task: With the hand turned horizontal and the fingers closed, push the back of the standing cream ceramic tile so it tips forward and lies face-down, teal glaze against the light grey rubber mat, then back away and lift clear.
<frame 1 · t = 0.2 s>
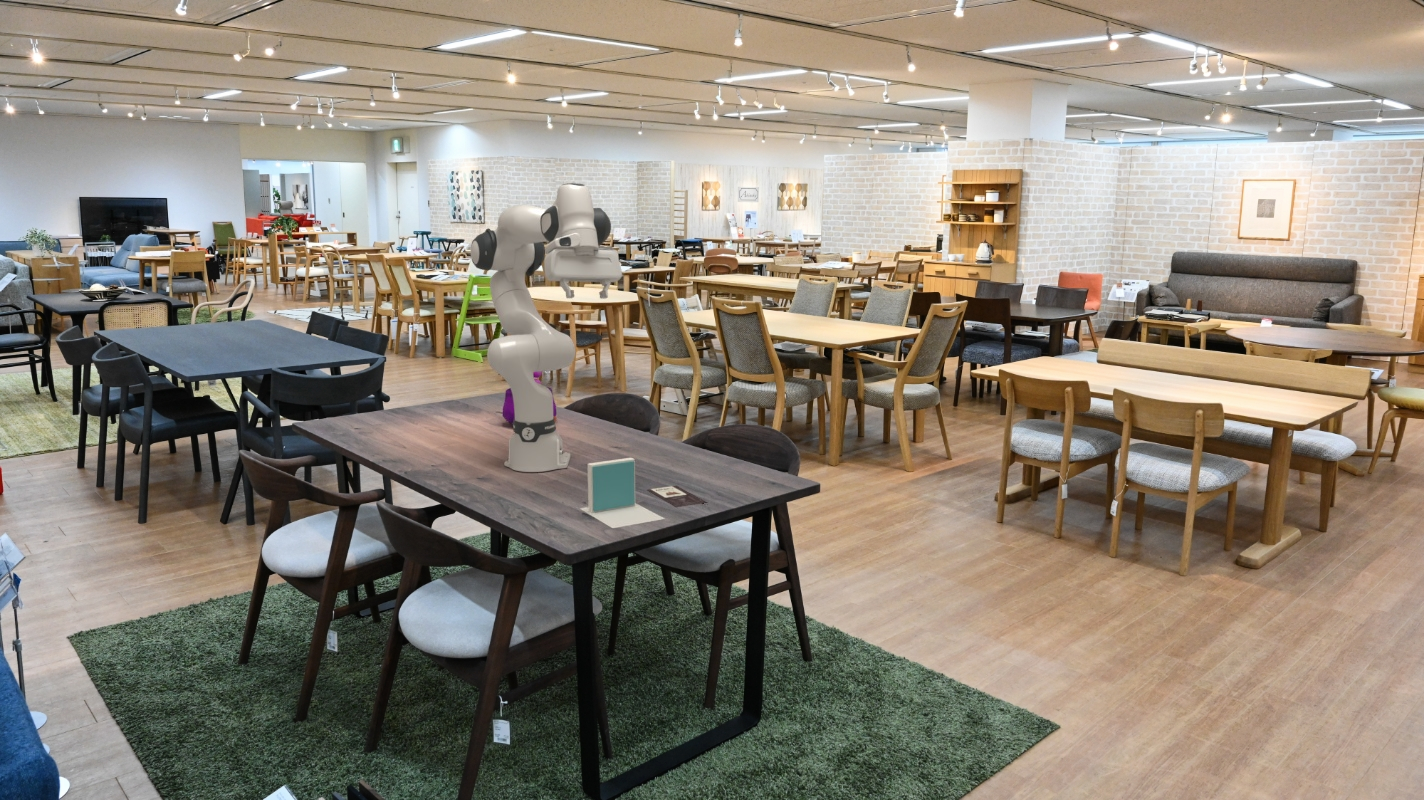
hand: (587, 298, 246), 52 cm above the table, tool tilted 20°, fingers open, 8 cm apart
mat: (621, 515, 240), on the table
tile: (612, 508, 244), resting on mat
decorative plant: (530, 425, 345), on the table
chocolate bar: (676, 500, 255), on the table
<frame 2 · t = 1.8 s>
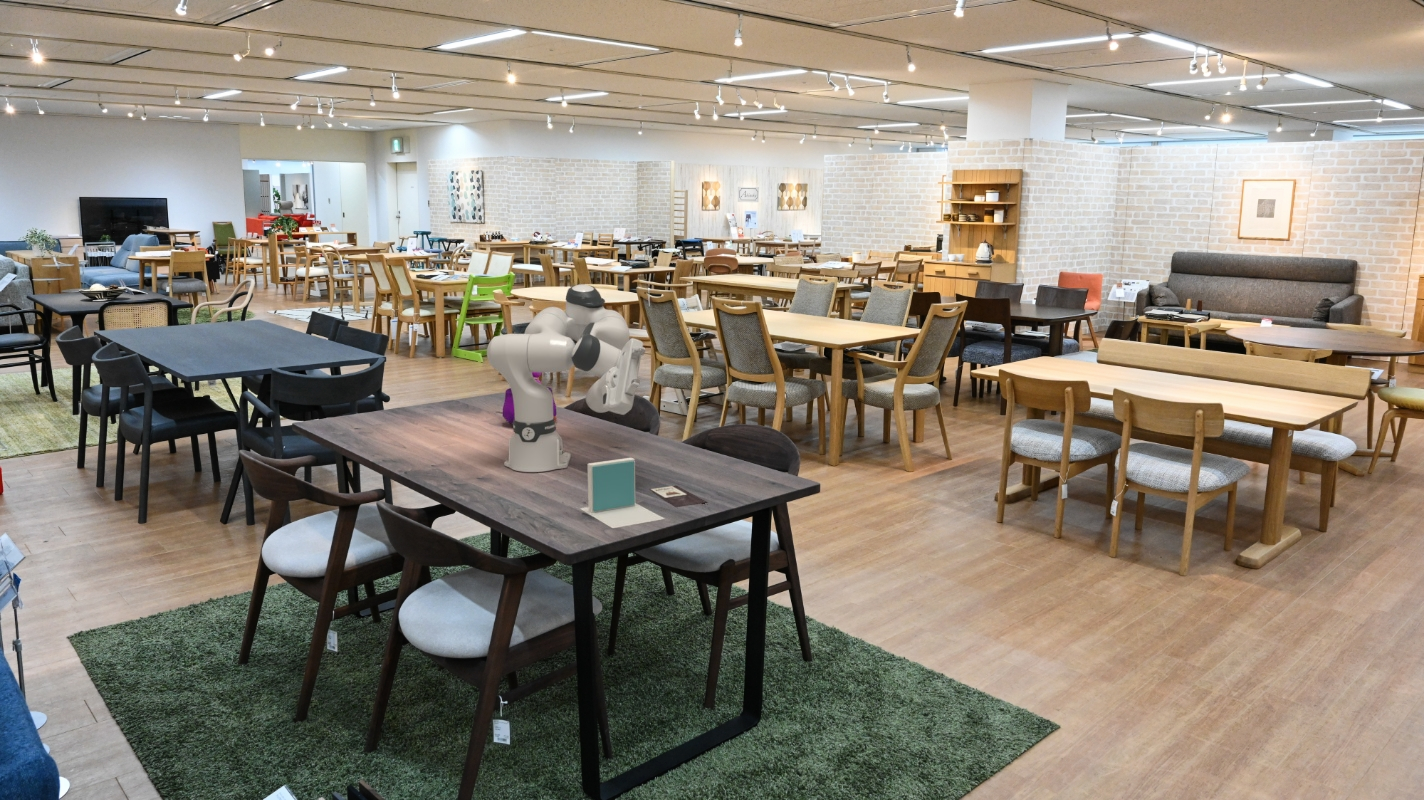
hand: (639, 365, 254), 34 cm above the table, tool pointing upward, fingers open, 8 cm apart
nothing on the table moved.
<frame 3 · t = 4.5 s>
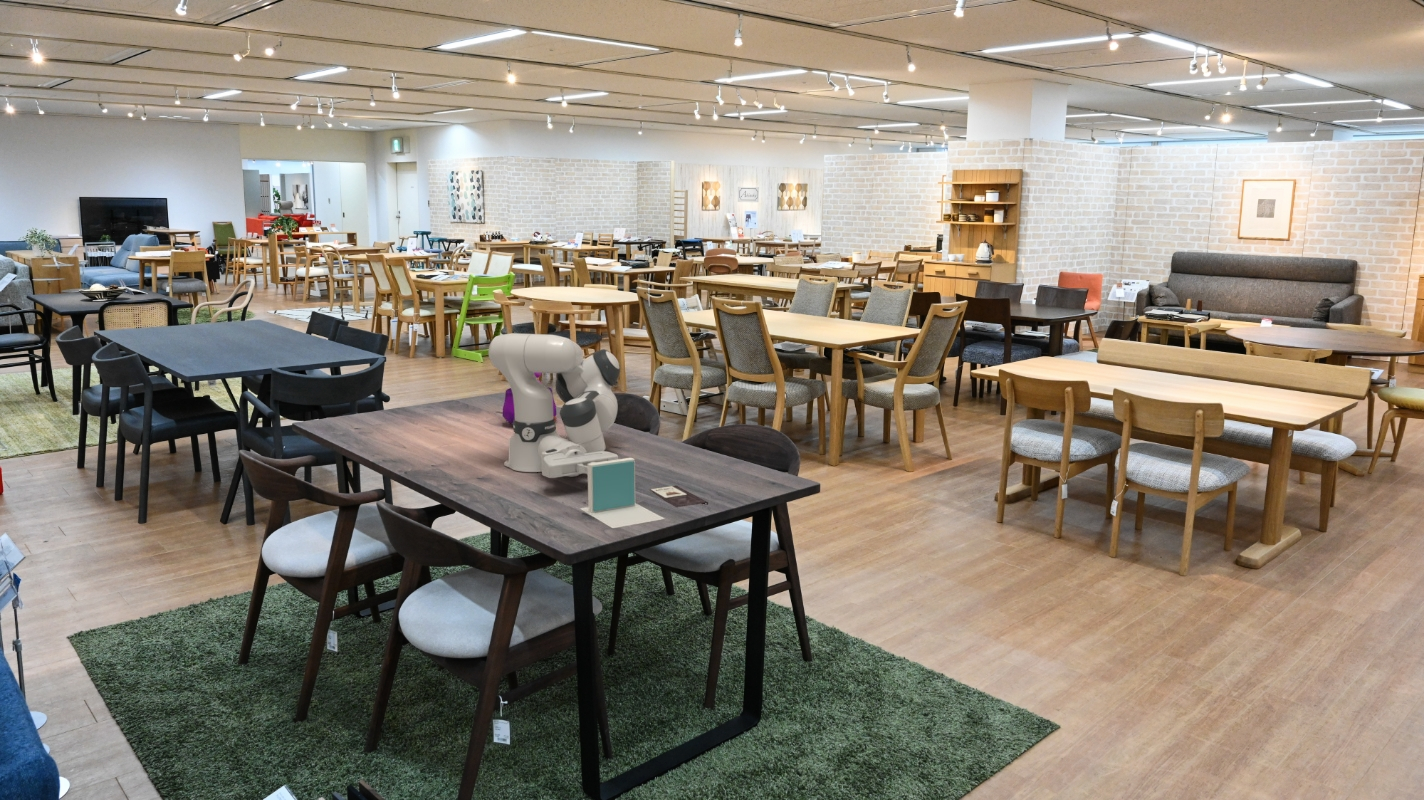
hand: (593, 470, 253), 7 cm above the table, tool horizontal, fingers closed
nothing on the table moved.
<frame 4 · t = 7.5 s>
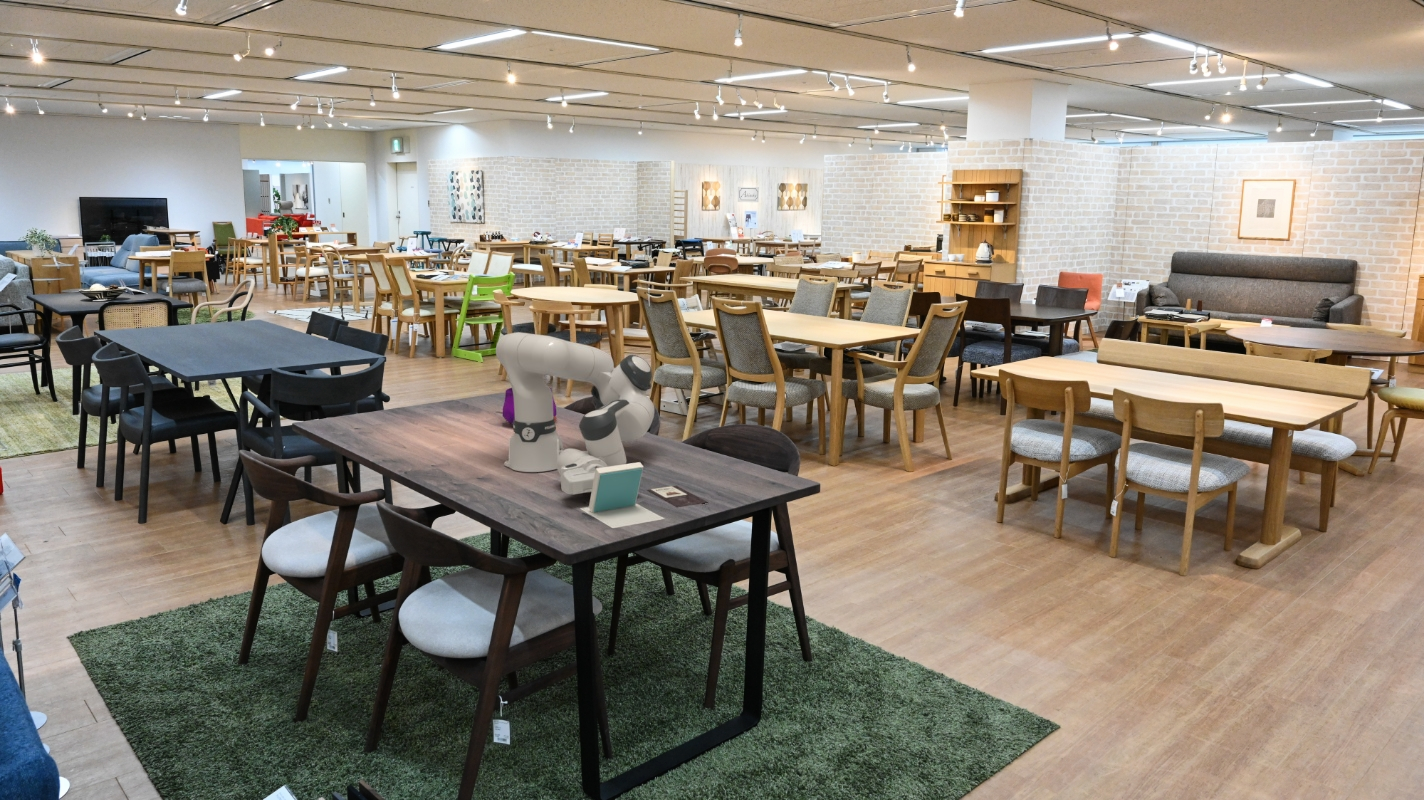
hand: (615, 486, 244), 6 cm above the table, tool horizontal, fingers closed
tile: (612, 506, 244), point 1 cm above the table, tilted 22°, touching mat
everything else where it was.
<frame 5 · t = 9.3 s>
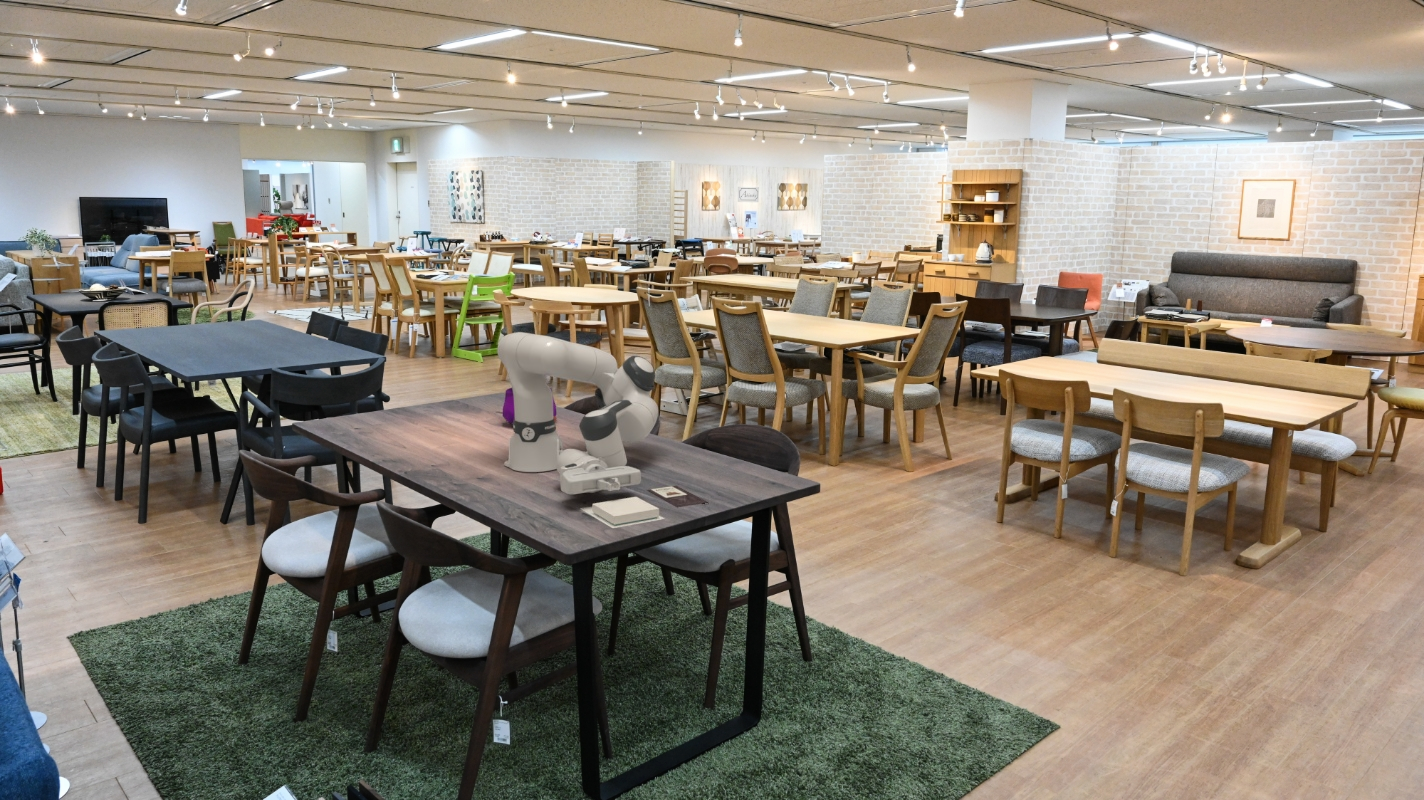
hand: (615, 487, 242), 6 cm above the table, tool horizontal, fingers closed
tile: (614, 504, 243), point 2 cm above the table, tilted 90°, touching mat
everything else where it was.
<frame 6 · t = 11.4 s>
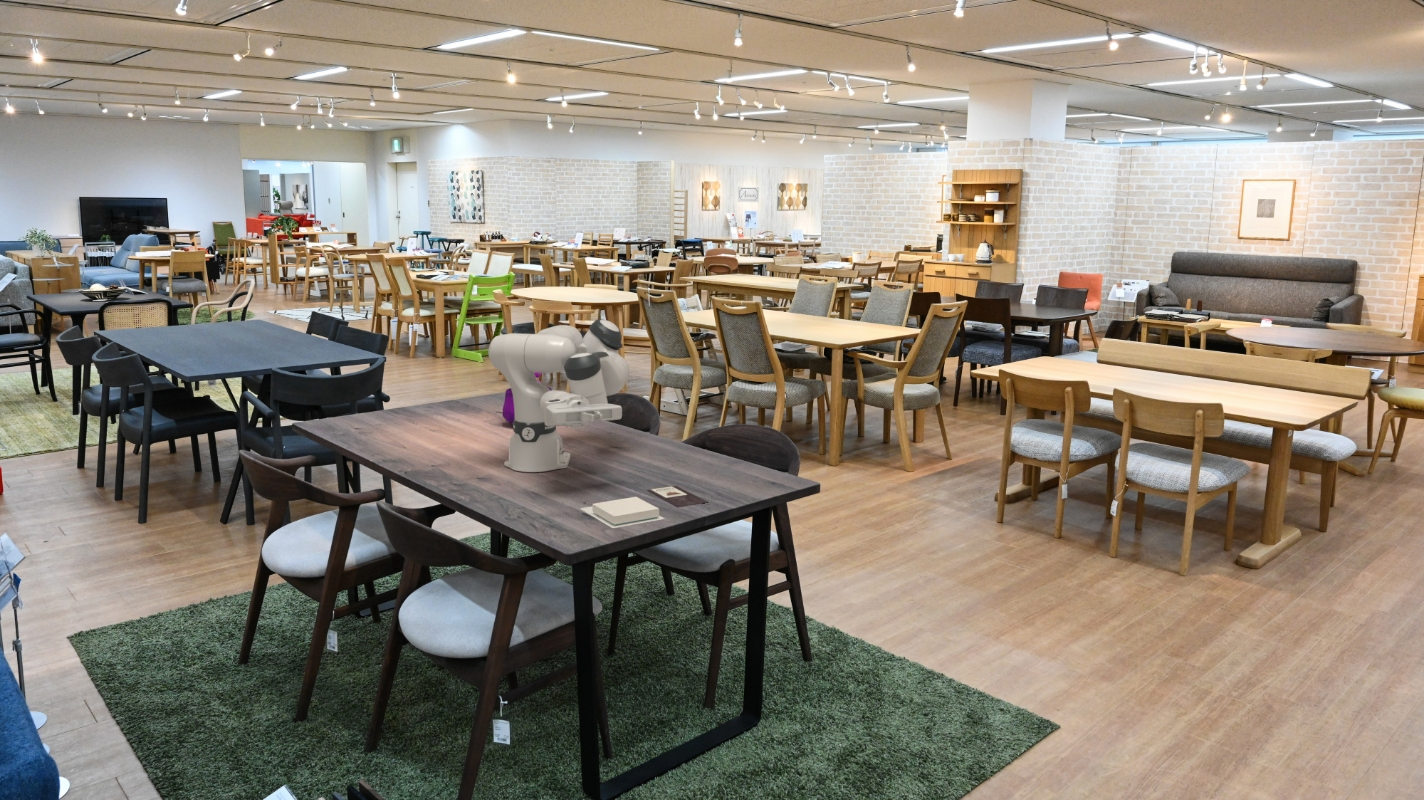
hand: (597, 418, 251), 21 cm above the table, tool horizontal, fingers closed
nothing on the table moved.
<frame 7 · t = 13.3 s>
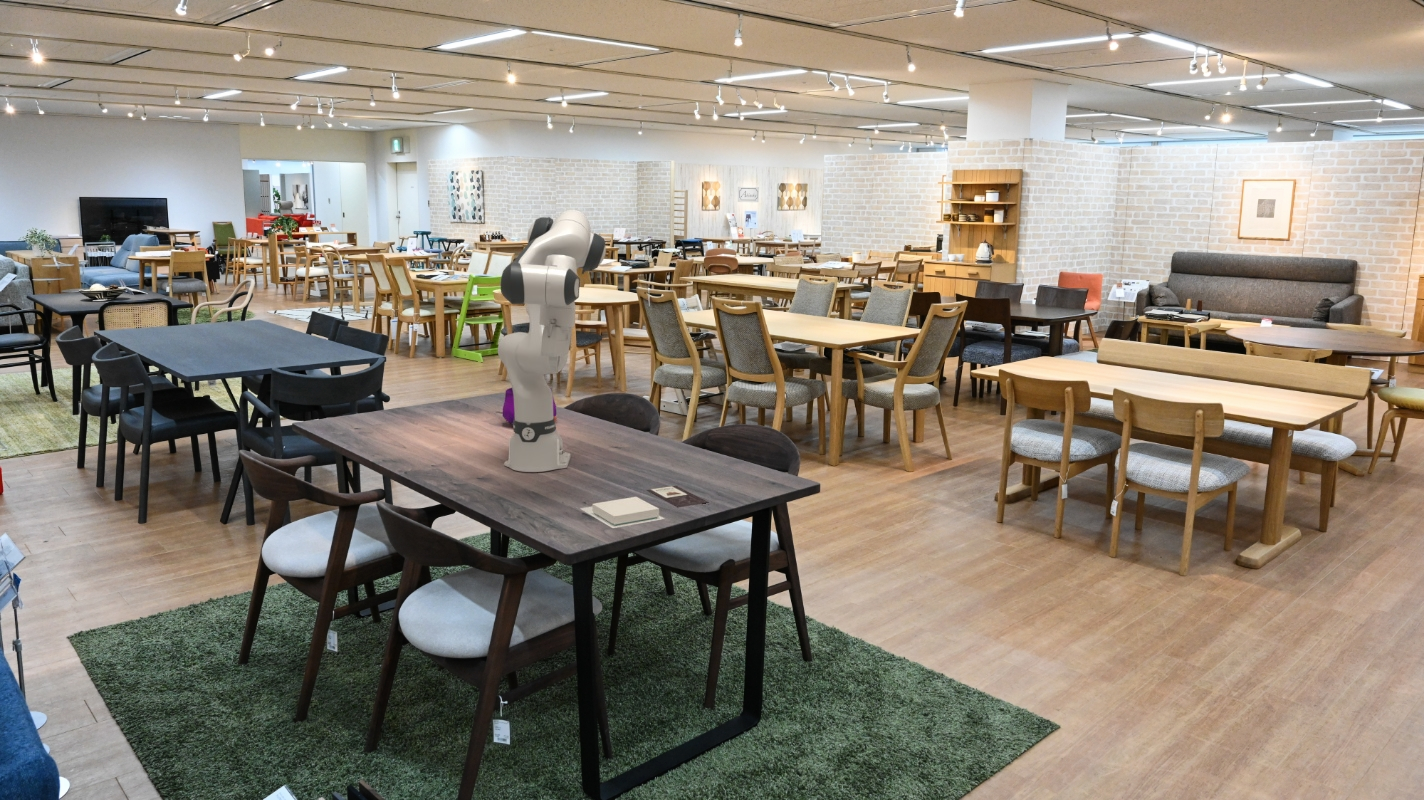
hand: (553, 373, 250), 33 cm above the table, tool pointing down, fingers closed
nothing on the table moved.
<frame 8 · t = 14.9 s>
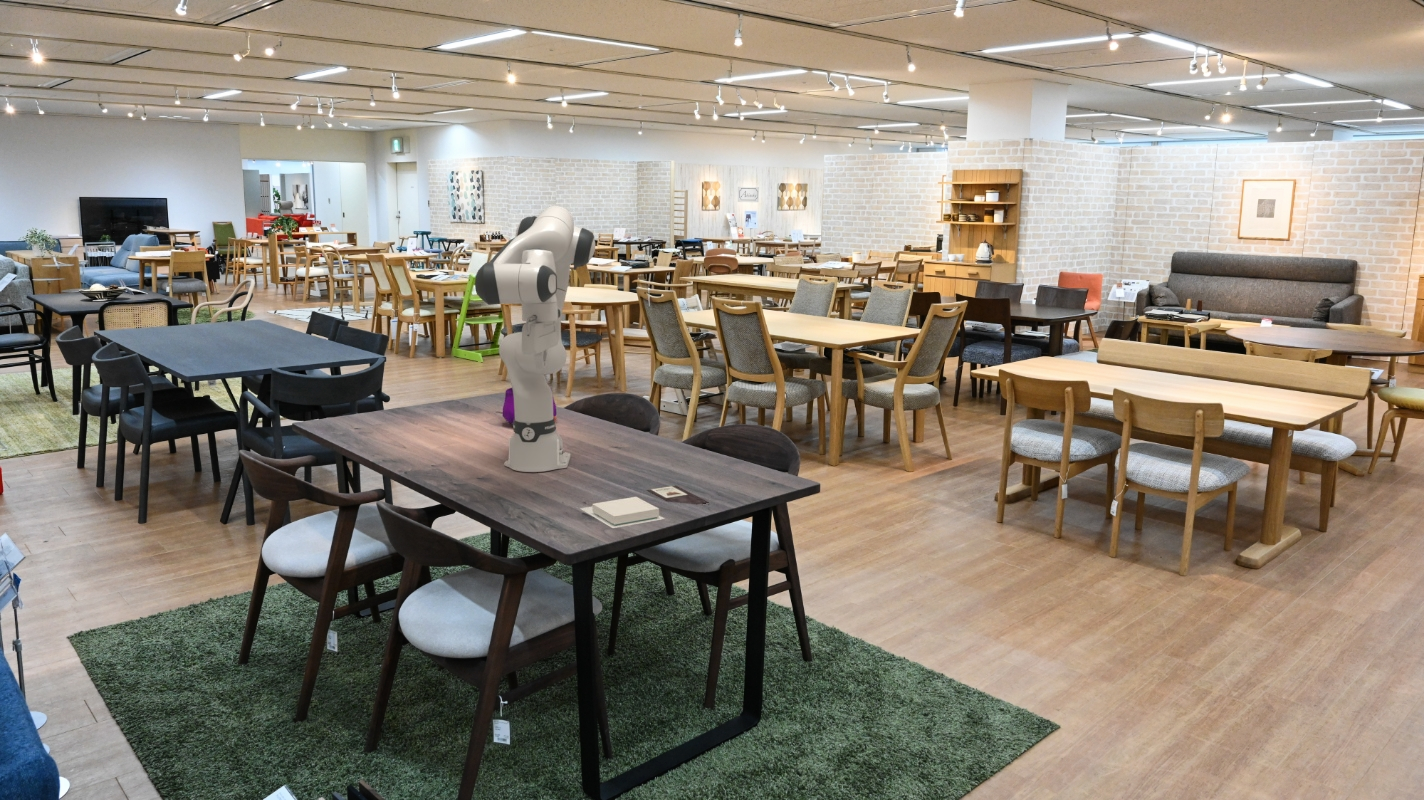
hand: (541, 367, 249), 34 cm above the table, tool pointing down, fingers closed
nothing on the table moved.
at the end: tile tilted 90°; tile touching mat; tile moved 1.9 cm from its start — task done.
